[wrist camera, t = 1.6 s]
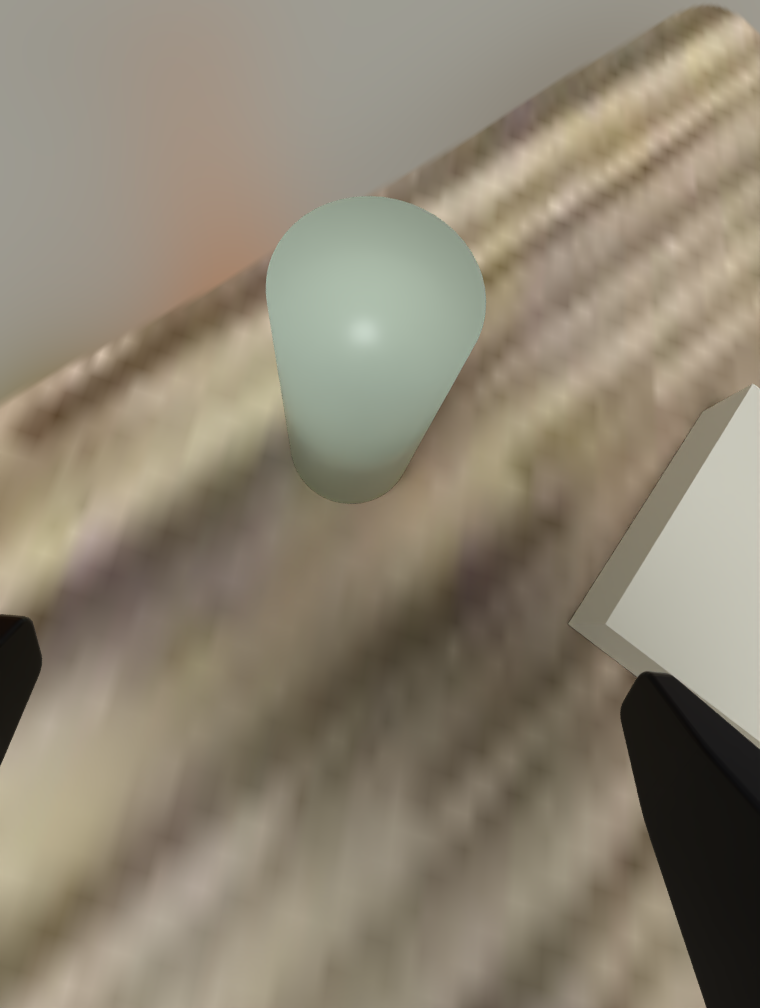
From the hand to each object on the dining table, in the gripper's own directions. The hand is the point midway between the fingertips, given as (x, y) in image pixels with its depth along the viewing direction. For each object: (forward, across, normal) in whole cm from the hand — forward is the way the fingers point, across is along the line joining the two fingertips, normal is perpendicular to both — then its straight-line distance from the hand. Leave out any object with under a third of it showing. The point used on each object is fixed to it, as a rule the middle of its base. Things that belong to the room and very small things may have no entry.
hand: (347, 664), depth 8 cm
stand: (+12, -18, +7) cm, 23 cm away
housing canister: (+15, 0, +4) cm, 16 cm away
